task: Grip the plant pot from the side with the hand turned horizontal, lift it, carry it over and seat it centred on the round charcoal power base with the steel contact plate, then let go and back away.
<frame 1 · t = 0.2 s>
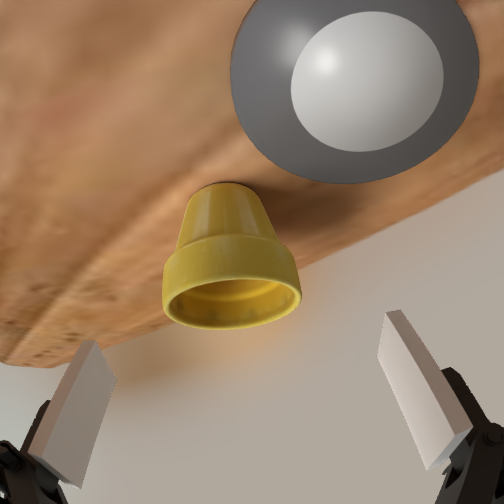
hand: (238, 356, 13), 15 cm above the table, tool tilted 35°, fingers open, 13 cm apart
plant pot: (225, 205, 27), on the table
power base: (366, 78, 17), on the table
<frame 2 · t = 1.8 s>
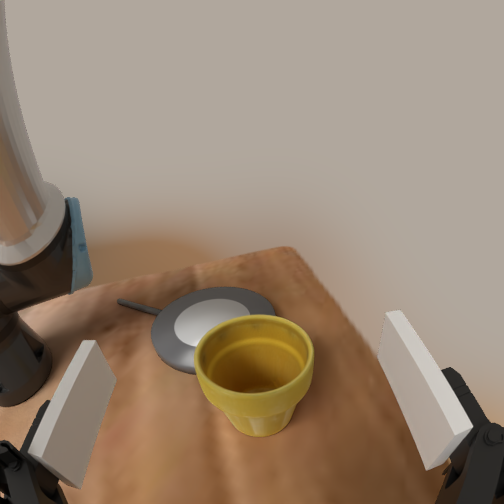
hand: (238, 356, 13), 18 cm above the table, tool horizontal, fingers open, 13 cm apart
plant pot: (262, 412, 29), on the table
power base: (213, 328, 43), on the table
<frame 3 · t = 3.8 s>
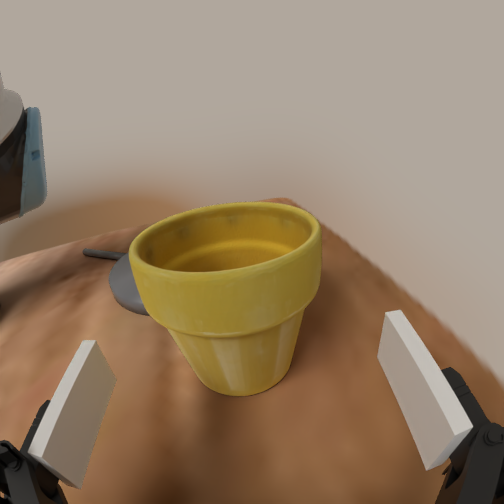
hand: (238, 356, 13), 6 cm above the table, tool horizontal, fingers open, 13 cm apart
plant pot: (244, 362, 20), on the table
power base: (187, 268, 34), on the table
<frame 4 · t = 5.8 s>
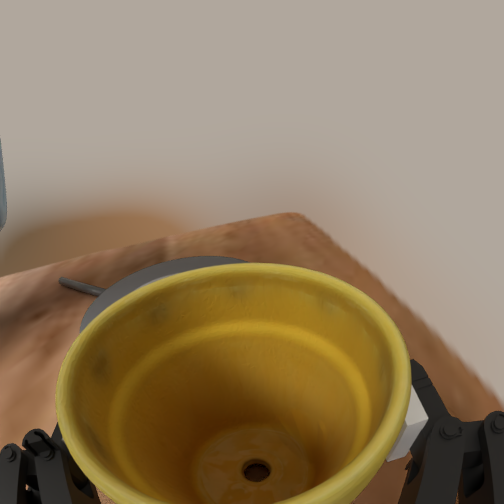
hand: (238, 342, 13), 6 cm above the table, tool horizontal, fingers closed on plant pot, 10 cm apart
plant pot: (256, 477, 12), on the table, touching gripper
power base: (178, 316, 26), on the table
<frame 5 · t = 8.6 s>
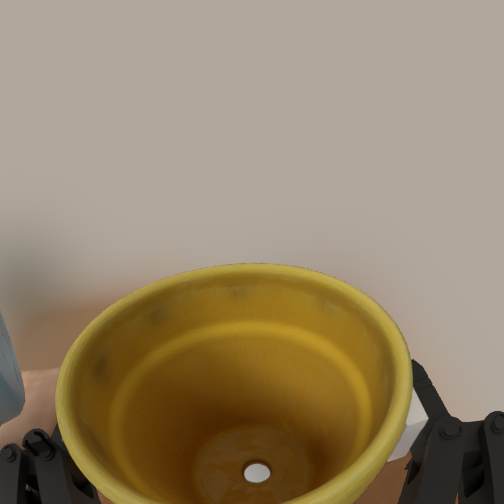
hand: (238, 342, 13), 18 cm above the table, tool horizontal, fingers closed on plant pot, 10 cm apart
plant pot: (256, 478, 12), point 12 cm above the table, touching gripper
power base: (241, 480, 21), on the table
when the fingers open (9 cm above the table, at t = 11.2 s): plant pot drops 1 cm, resting on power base.
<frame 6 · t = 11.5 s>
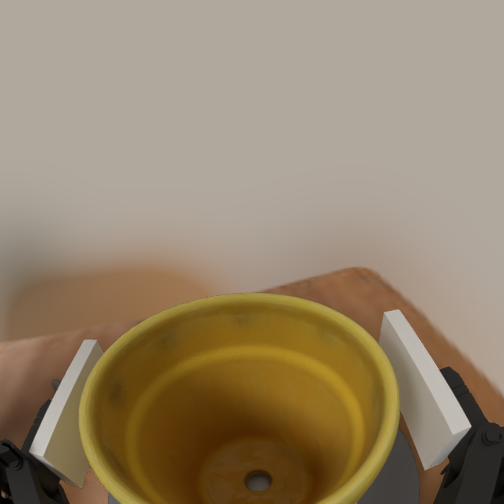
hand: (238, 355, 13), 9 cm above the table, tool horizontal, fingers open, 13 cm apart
plant pot: (258, 486, 13), point 1 cm above the table, touching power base
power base: (260, 492, 13), on the table
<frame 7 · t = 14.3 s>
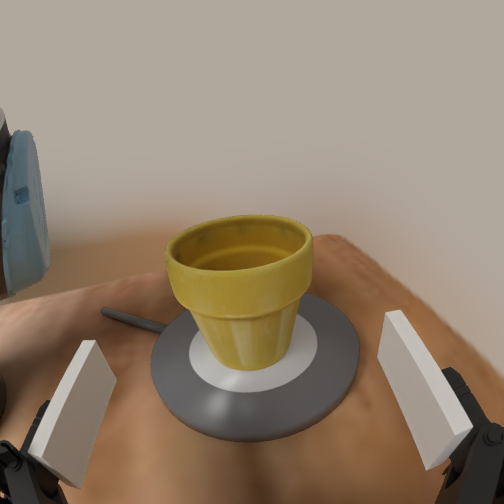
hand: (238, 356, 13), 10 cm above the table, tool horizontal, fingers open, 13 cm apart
plant pot: (252, 345, 25), point 1 cm above the table, touching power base
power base: (254, 355, 26), on the table
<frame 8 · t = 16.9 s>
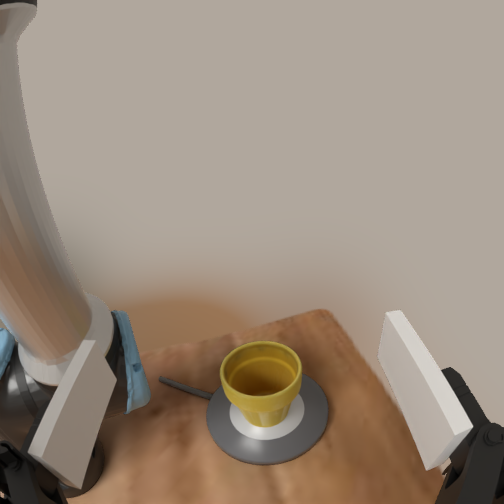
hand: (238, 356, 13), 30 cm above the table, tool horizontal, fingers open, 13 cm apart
plant pot: (266, 410, 40), point 1 cm above the table, touching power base
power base: (267, 414, 41), on the table
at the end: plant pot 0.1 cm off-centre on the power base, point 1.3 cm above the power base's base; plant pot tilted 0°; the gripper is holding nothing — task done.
